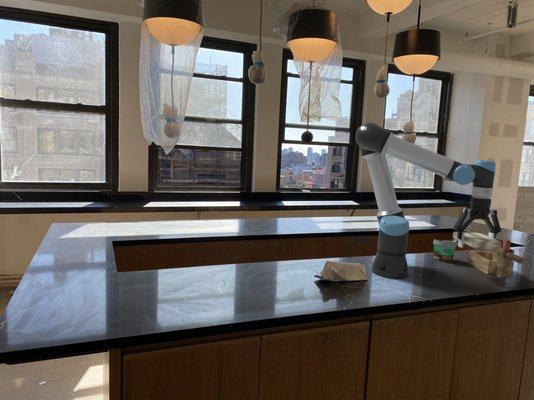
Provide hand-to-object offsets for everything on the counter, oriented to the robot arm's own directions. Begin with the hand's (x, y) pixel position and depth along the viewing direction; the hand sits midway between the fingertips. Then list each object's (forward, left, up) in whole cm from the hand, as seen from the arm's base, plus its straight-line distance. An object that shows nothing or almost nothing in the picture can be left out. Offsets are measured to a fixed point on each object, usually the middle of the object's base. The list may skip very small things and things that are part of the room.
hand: (475, 247), depth 166 cm
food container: (-1, +20, -12) cm, 24 cm away
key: (+14, -4, -3) cm, 15 cm away
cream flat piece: (0, 0, +1) cm, 1 cm away
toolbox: (+14, +8, -12) cm, 20 cm away
